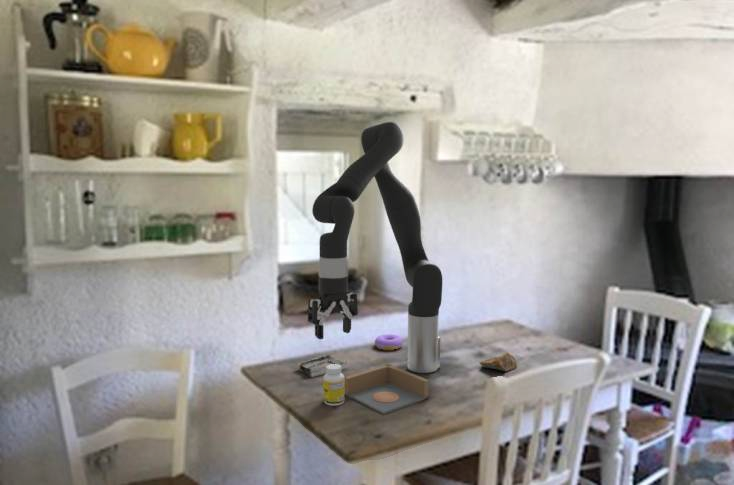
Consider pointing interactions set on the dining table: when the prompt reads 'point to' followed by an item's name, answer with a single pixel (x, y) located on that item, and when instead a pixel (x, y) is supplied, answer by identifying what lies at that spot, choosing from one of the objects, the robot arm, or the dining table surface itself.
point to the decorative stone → (500, 362)
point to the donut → (388, 342)
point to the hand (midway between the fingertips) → (333, 335)
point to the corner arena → (386, 388)
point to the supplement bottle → (333, 385)
